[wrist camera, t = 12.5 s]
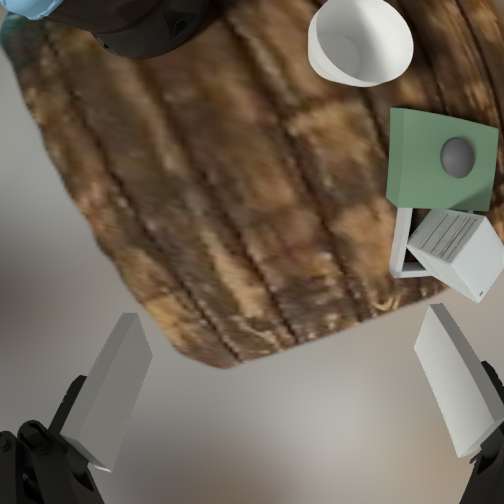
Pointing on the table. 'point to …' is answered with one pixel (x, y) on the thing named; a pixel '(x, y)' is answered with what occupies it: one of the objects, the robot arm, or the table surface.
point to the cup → (359, 42)
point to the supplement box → (459, 250)
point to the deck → (436, 172)
